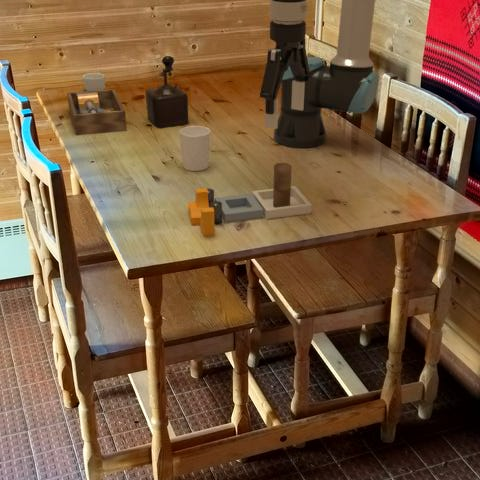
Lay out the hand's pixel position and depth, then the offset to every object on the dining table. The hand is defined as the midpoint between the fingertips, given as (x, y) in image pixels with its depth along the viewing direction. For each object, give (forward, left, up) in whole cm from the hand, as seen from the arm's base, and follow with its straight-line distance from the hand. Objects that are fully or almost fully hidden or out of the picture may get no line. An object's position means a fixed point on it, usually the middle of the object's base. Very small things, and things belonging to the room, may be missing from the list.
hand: (284, 118), depth 161 cm
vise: (+36, -75, -23) cm, 86 cm away
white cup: (+14, -30, -22) cm, 40 cm away
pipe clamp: (+20, +4, -23) cm, 31 cm away
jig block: (+11, 0, -22) cm, 25 cm away
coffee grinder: (+14, -70, -22) cm, 75 cm away
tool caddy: (+35, -74, -22) cm, 85 cm away
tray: (0, 0, -22) cm, 22 cm away
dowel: (0, 0, -22) cm, 22 cm away
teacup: (+32, -106, -22) cm, 113 cm away
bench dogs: (+17, 0, -22) cm, 28 cm away
